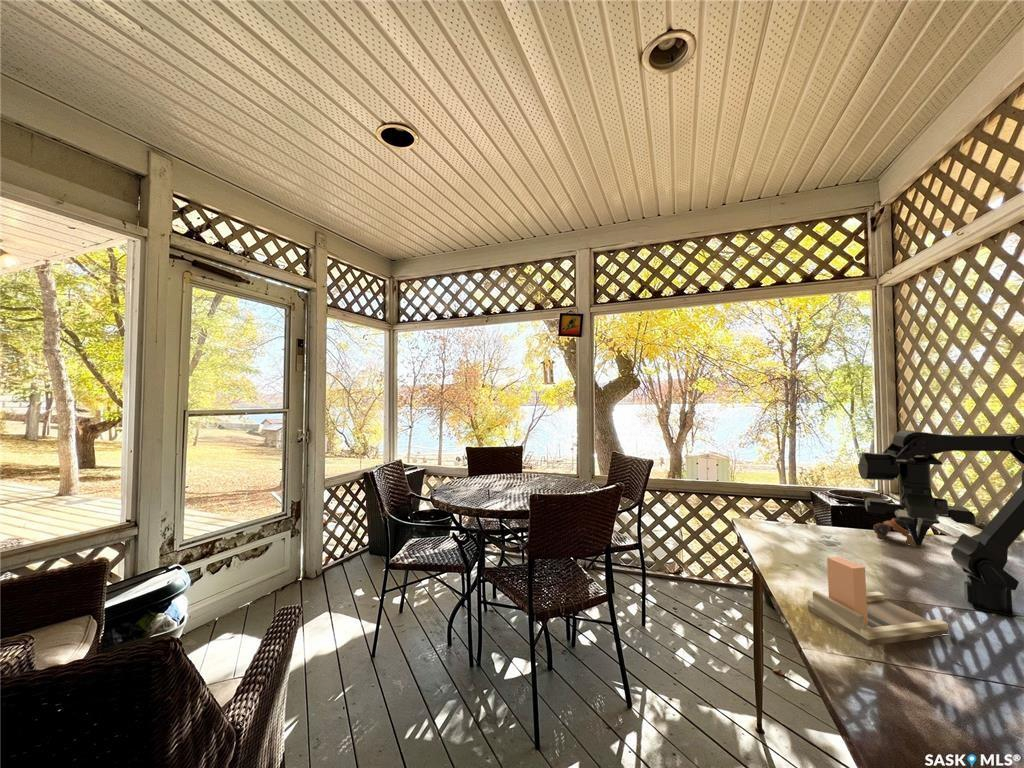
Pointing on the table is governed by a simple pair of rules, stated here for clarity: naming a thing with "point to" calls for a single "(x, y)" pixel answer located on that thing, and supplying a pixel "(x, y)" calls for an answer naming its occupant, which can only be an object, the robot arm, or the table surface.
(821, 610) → the open-ended rail tray
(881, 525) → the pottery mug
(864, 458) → the robot arm
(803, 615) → the table surface
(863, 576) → the tall block
